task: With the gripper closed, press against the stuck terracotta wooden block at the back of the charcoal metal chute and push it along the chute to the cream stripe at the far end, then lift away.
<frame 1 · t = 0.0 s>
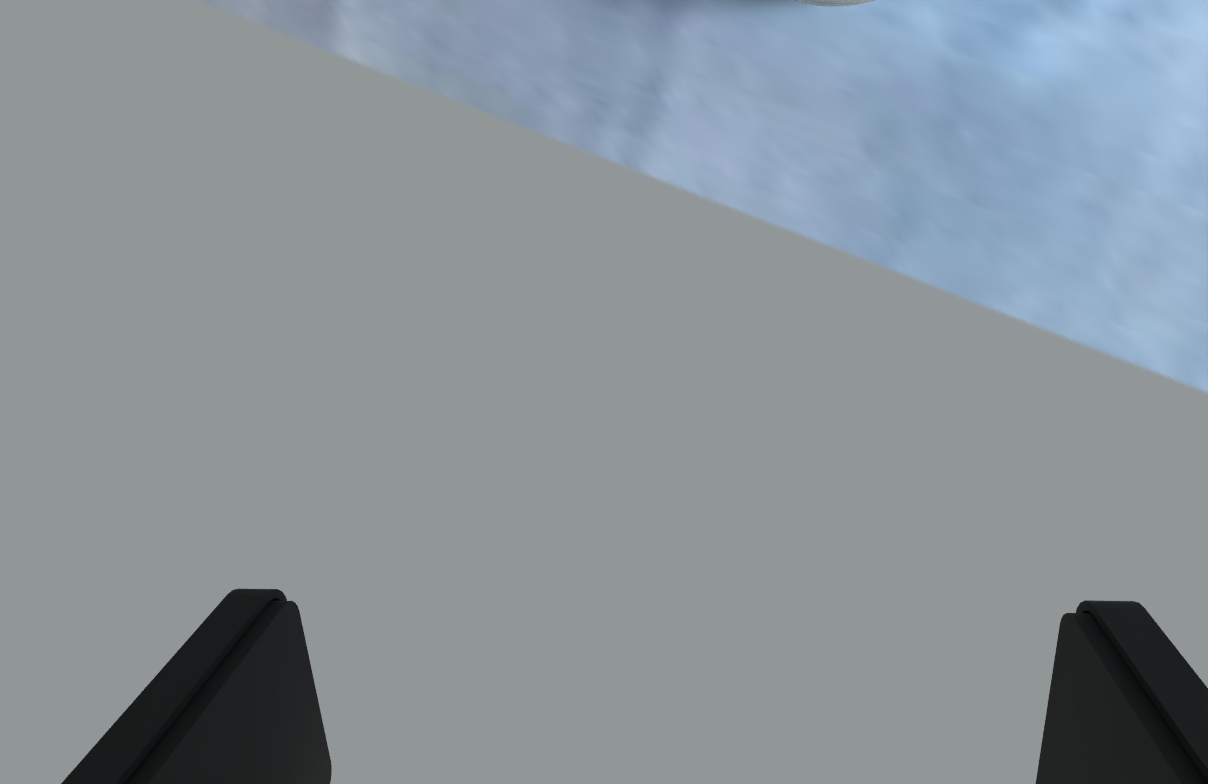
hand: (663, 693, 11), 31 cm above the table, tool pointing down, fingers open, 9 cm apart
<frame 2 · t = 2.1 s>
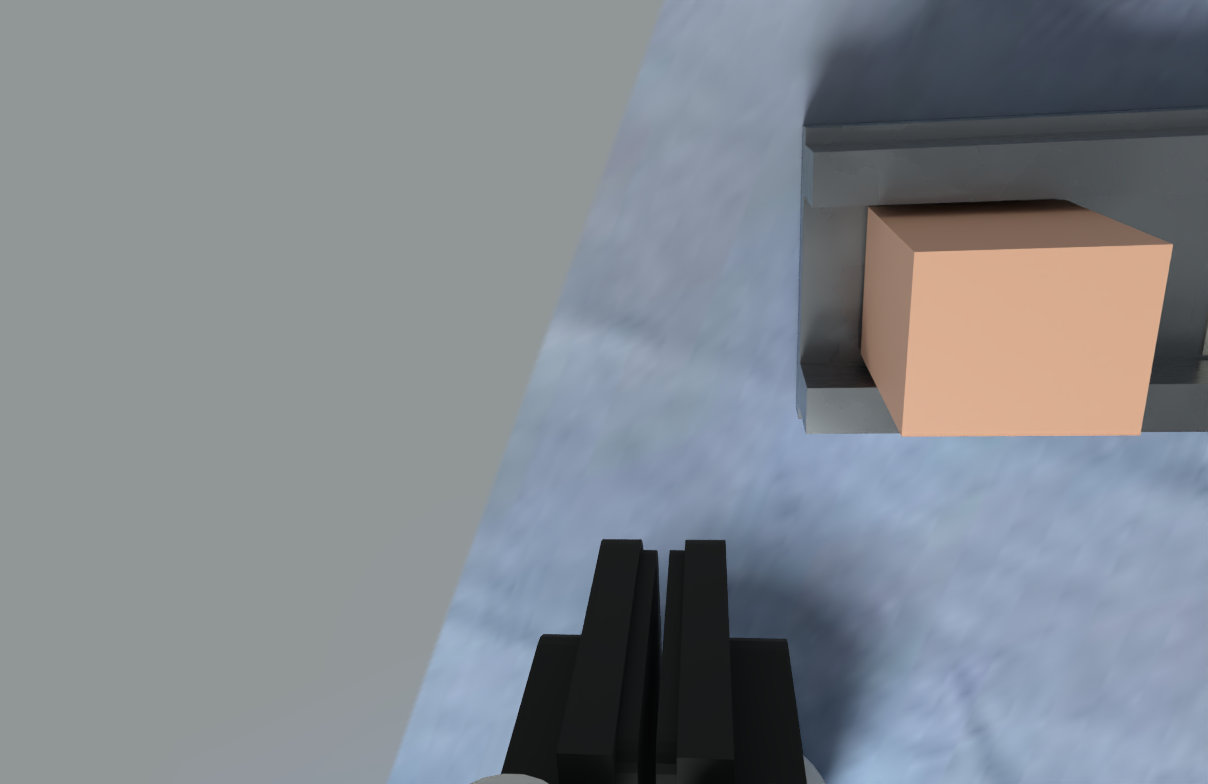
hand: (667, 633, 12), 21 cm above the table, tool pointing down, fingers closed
block: (989, 308, 26), point 5 cm above the table, slide at 0.0 cm
chute: (1135, 265, 29), on the table
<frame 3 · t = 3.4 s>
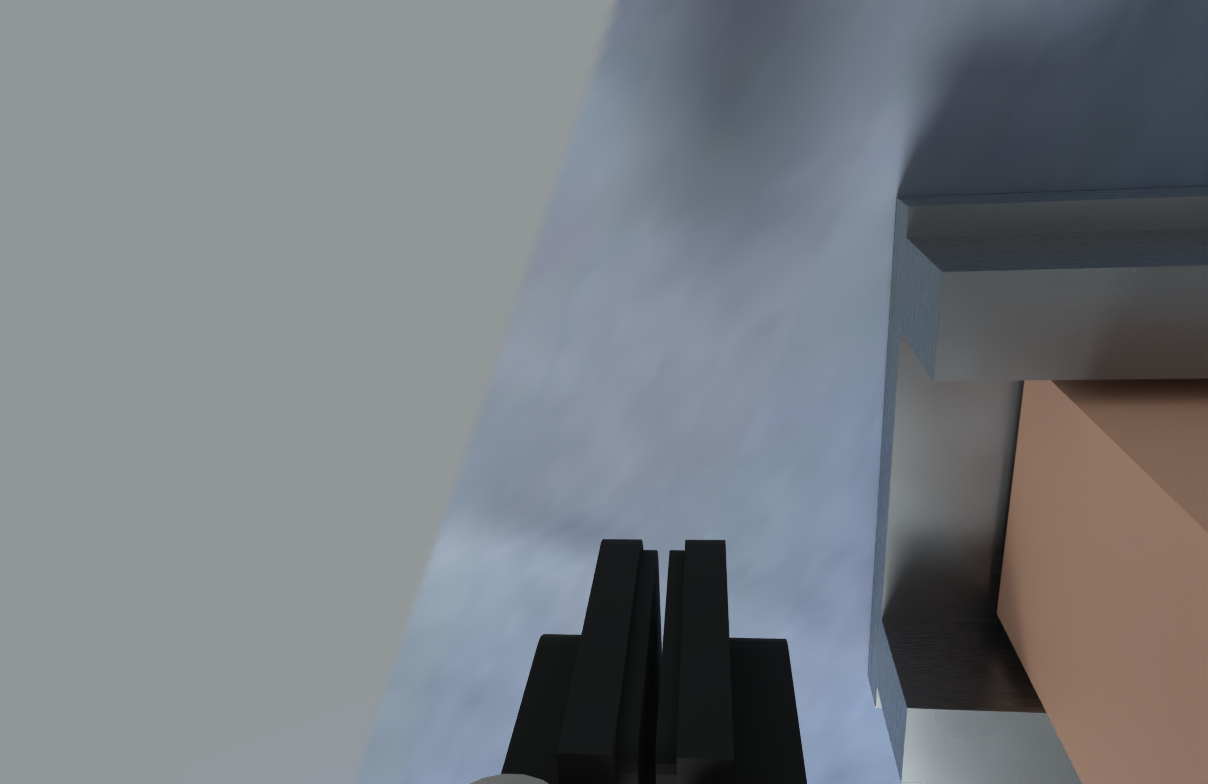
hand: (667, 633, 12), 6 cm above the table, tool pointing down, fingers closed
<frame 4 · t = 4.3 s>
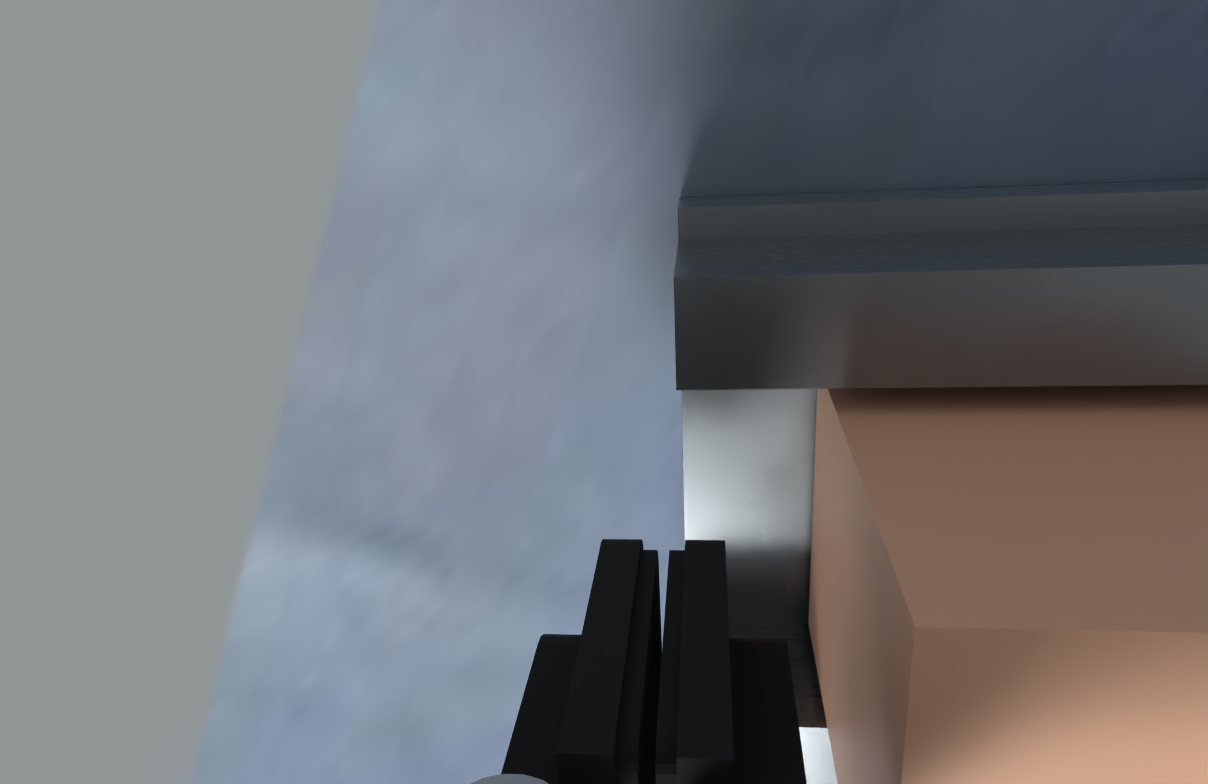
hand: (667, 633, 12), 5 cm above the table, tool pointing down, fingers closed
block: (1078, 629, 12), point 5 cm above the table, slide at 0.2 cm, touching gripper
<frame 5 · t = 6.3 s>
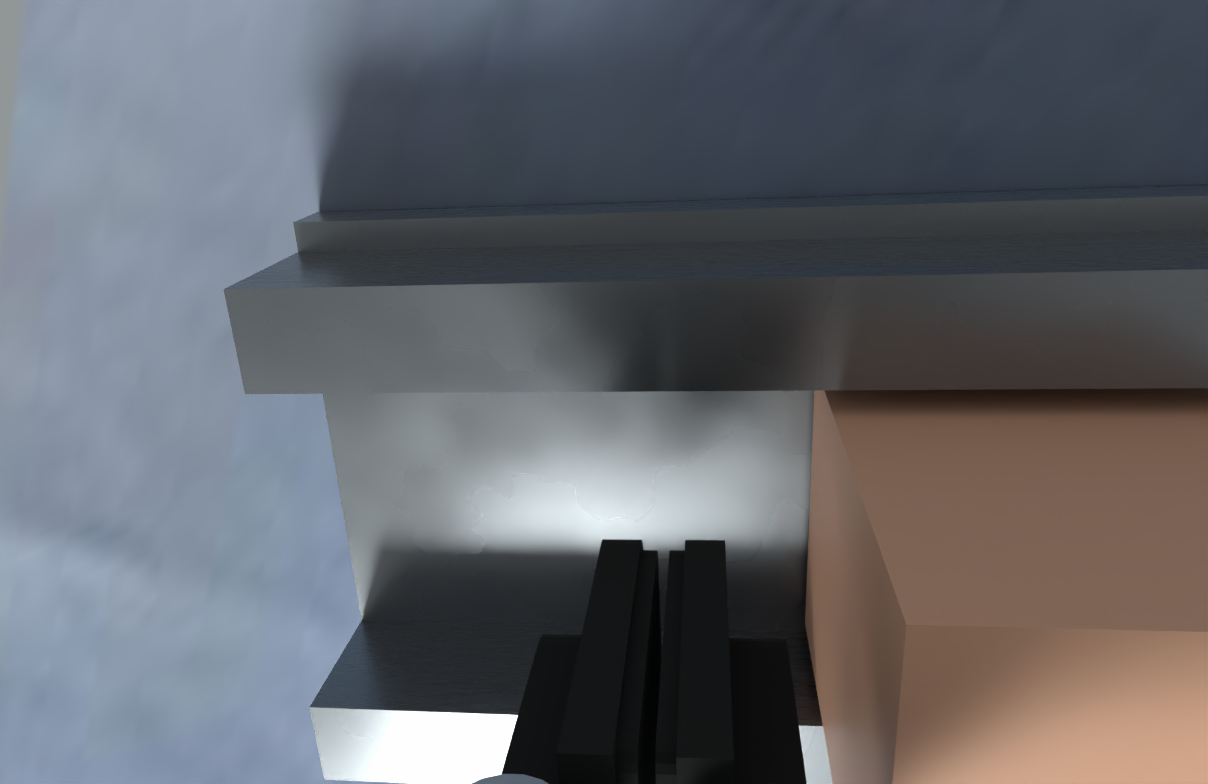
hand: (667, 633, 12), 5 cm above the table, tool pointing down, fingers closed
block: (1070, 629, 12), point 5 cm above the table, slide at 6.6 cm, touching gripper
chute: (936, 469, 16), on the table
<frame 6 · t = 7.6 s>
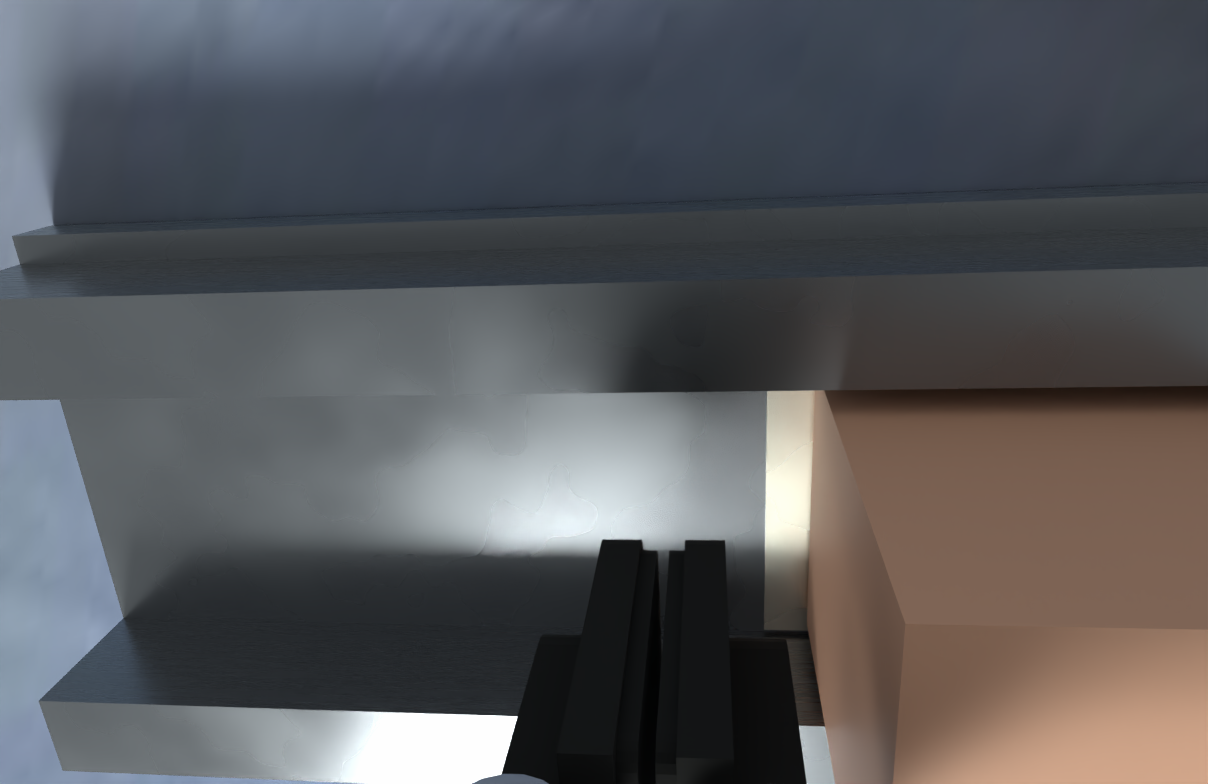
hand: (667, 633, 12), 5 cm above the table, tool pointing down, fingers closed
block: (1072, 628, 12), point 5 cm above the table, slide at 11.8 cm, touching gripper
chute: (655, 468, 17), on the table
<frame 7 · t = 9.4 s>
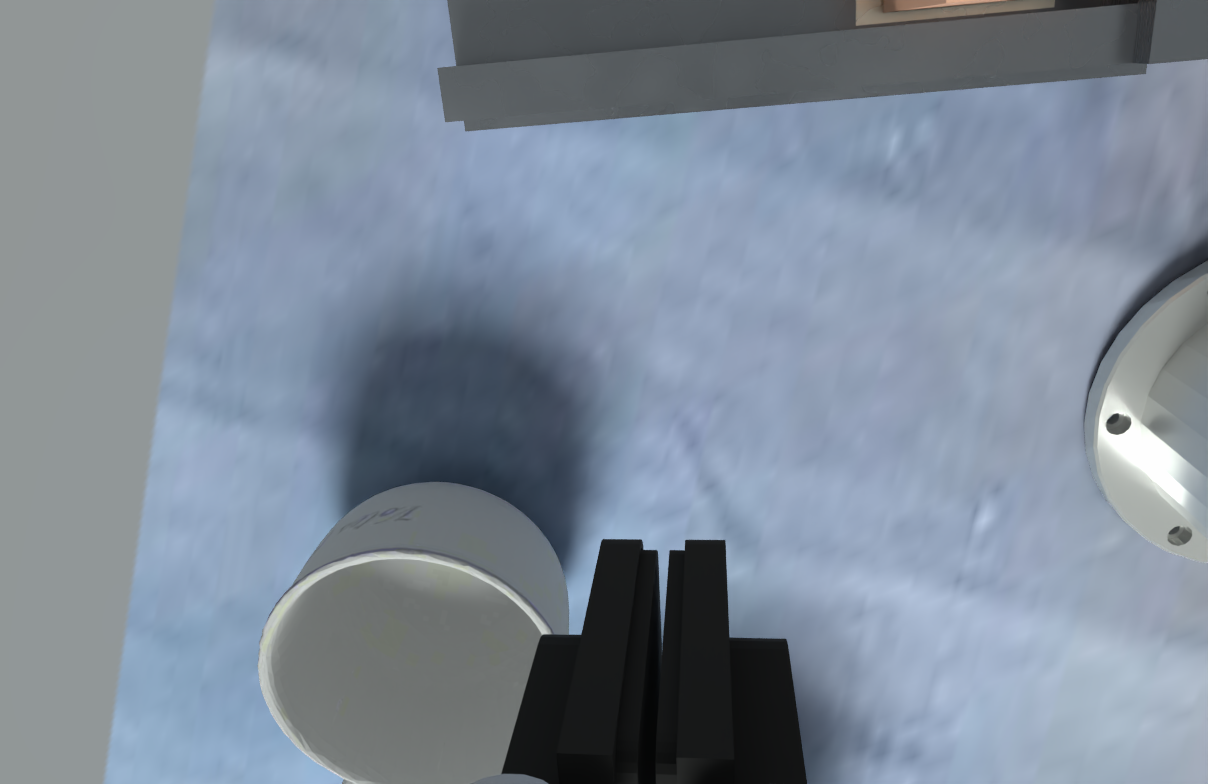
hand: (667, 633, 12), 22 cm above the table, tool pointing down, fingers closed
teacup: (444, 586, 39), on the table
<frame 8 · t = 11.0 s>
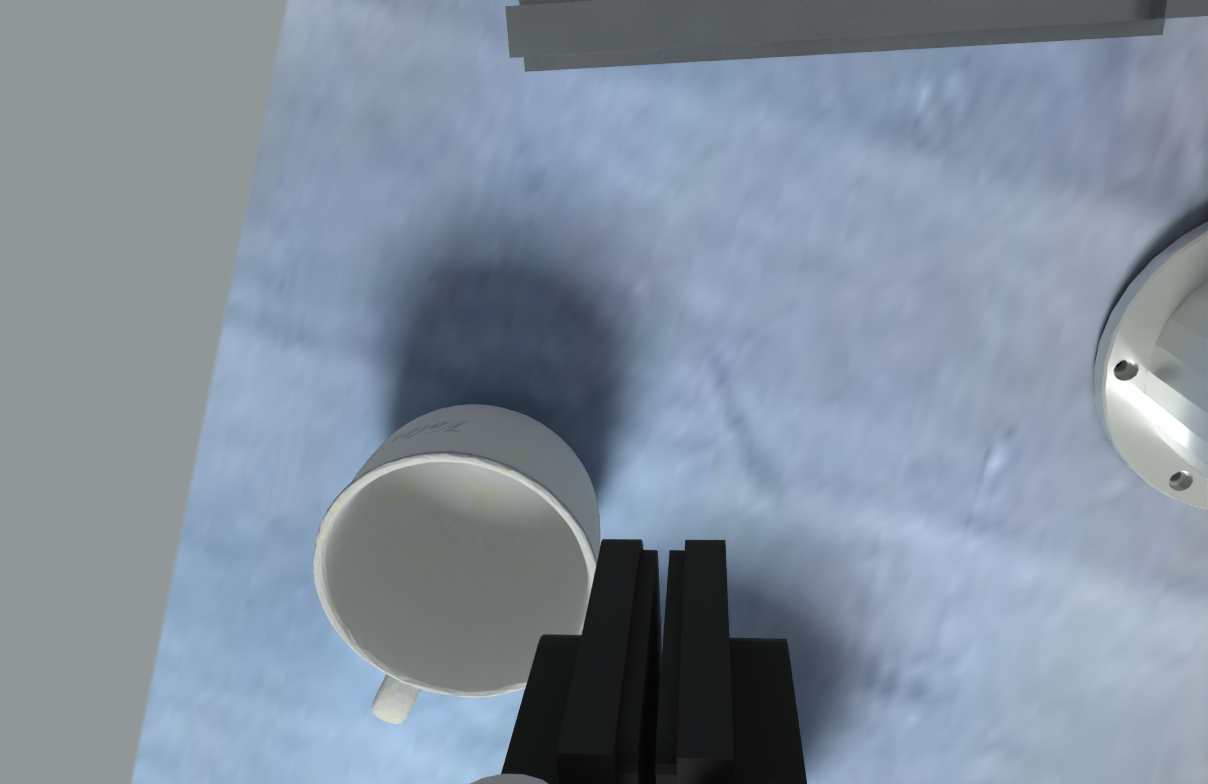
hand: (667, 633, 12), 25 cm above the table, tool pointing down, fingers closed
teacup: (481, 511, 41), on the table
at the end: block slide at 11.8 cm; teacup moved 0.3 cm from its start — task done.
